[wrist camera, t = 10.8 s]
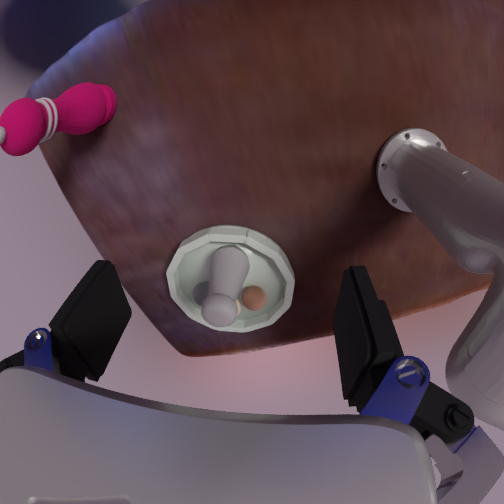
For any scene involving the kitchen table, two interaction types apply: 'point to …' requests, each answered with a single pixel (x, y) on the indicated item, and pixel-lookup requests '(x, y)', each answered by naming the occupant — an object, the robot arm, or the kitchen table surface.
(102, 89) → the pepper mill
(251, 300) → the bead terracotta
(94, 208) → the kitchen table surface
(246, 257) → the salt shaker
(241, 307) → the bead cream
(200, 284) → the dusty blue bead
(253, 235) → the tray
